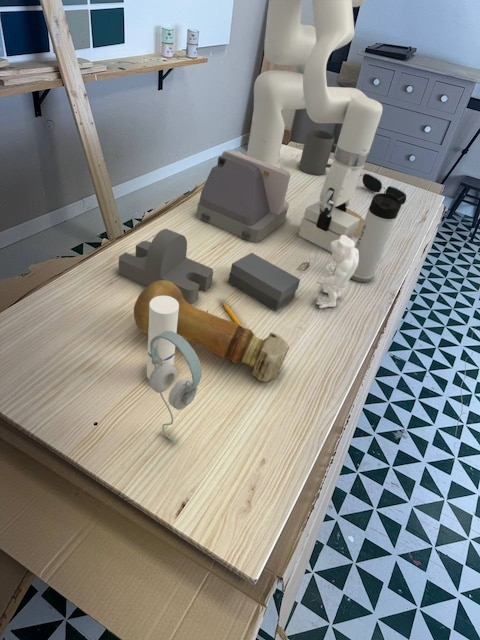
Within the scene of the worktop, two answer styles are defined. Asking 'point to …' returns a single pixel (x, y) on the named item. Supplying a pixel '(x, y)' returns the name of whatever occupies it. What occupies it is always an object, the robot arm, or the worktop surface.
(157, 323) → the tube
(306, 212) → the white box
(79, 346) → the worktop surface
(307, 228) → the off-white rectangular block
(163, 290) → the stamp
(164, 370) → the headphones
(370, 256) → the travel mug
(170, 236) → the bracket
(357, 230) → the clay tablet
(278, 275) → the grey stack
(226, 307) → the pencil
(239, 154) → the instant camera
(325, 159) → the mug
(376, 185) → the sunglasses
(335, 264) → the figurine
